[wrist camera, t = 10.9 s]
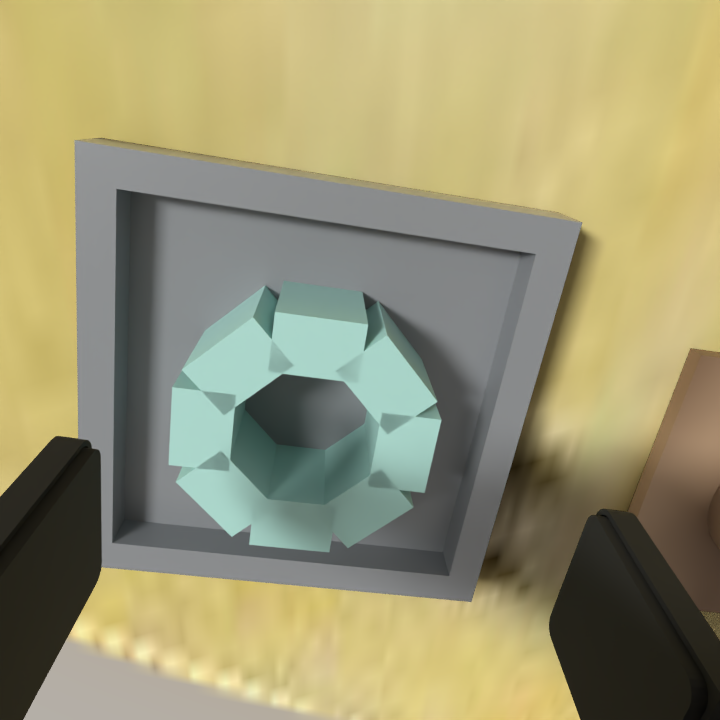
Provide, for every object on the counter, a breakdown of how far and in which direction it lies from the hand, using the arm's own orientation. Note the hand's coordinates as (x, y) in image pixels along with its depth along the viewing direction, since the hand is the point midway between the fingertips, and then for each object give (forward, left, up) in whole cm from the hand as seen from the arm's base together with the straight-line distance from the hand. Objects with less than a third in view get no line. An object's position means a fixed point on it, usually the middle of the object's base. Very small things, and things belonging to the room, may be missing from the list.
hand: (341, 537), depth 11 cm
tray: (+1, +1, -8) cm, 8 cm away
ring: (+1, +1, -8) cm, 8 cm away
